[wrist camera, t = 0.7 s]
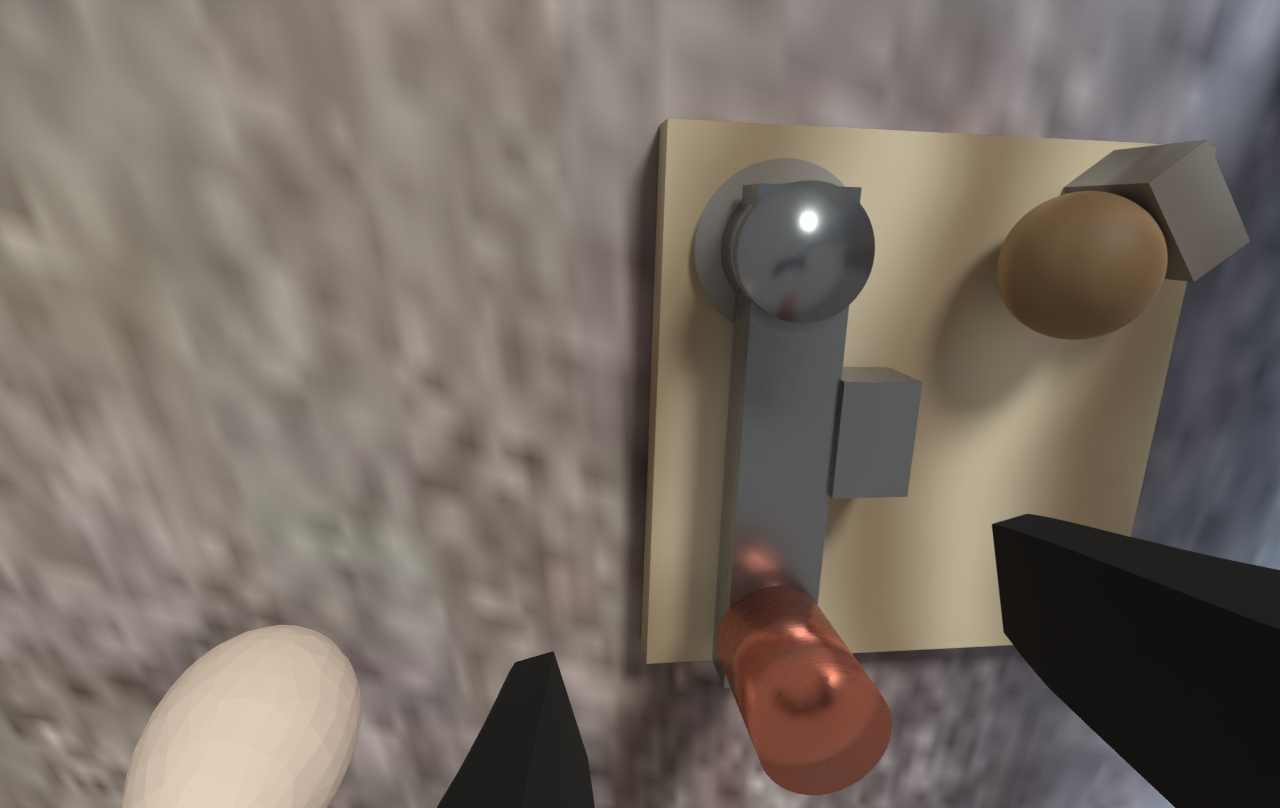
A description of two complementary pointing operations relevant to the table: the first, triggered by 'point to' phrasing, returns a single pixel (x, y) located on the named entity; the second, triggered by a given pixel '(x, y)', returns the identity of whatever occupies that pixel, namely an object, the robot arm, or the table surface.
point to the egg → (251, 727)
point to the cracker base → (933, 355)
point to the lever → (801, 479)
